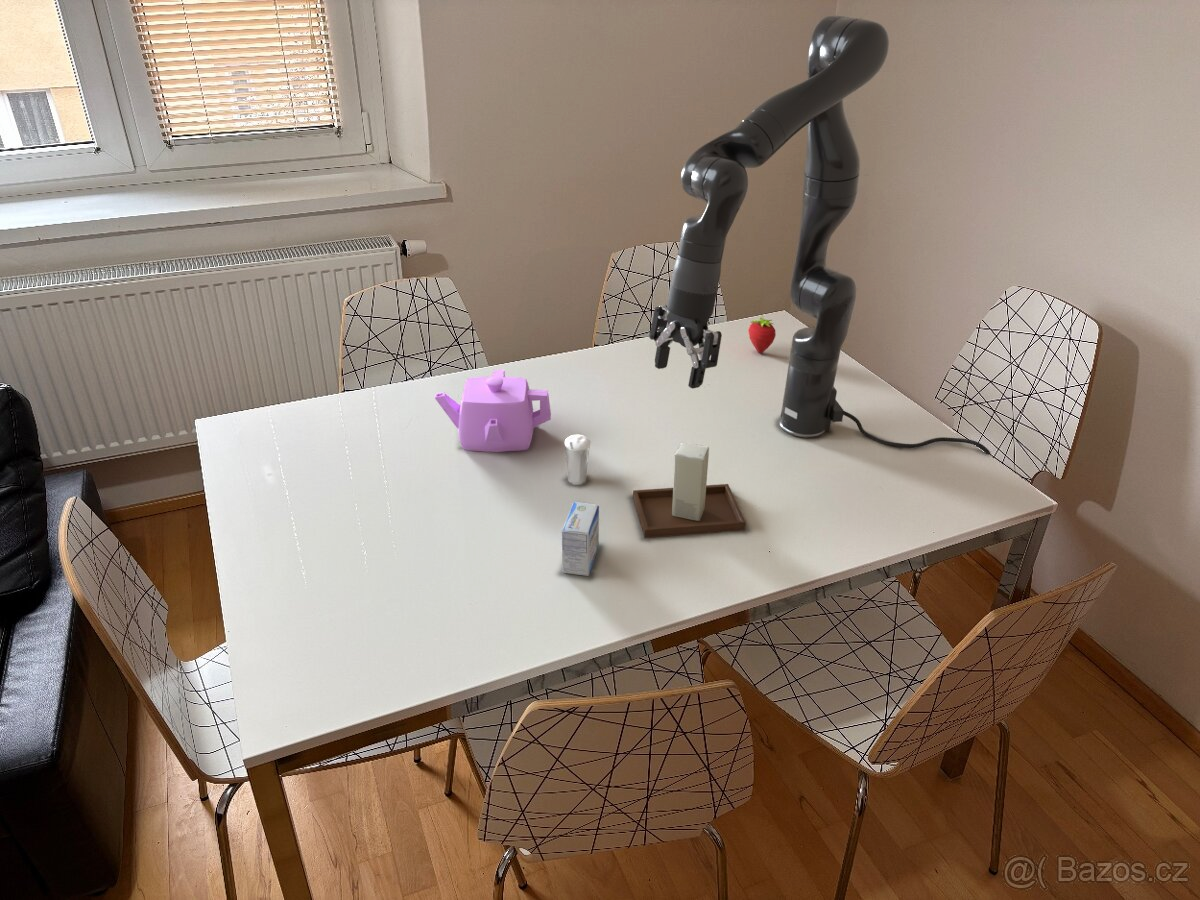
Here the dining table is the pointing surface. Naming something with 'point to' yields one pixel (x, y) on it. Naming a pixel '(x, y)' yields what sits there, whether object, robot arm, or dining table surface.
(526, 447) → the teakettle
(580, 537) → the medicine box
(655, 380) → the dining table surface
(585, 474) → the milkshake
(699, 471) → the box
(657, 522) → the tray
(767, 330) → the strawberry
